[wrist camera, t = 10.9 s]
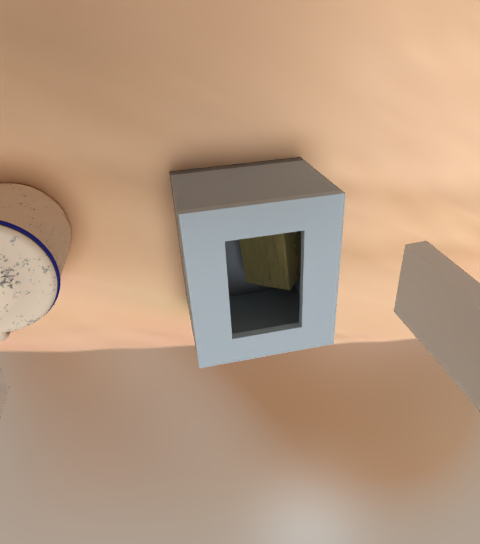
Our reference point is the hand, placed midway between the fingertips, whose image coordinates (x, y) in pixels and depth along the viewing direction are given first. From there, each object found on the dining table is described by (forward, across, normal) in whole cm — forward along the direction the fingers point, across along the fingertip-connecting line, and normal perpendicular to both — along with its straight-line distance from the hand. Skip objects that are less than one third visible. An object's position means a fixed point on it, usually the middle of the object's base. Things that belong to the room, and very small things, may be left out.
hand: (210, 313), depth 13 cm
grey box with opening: (+26, +6, -11) cm, 29 cm away
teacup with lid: (+26, -14, -9) cm, 31 cm away
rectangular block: (+23, +6, -11) cm, 27 cm away
